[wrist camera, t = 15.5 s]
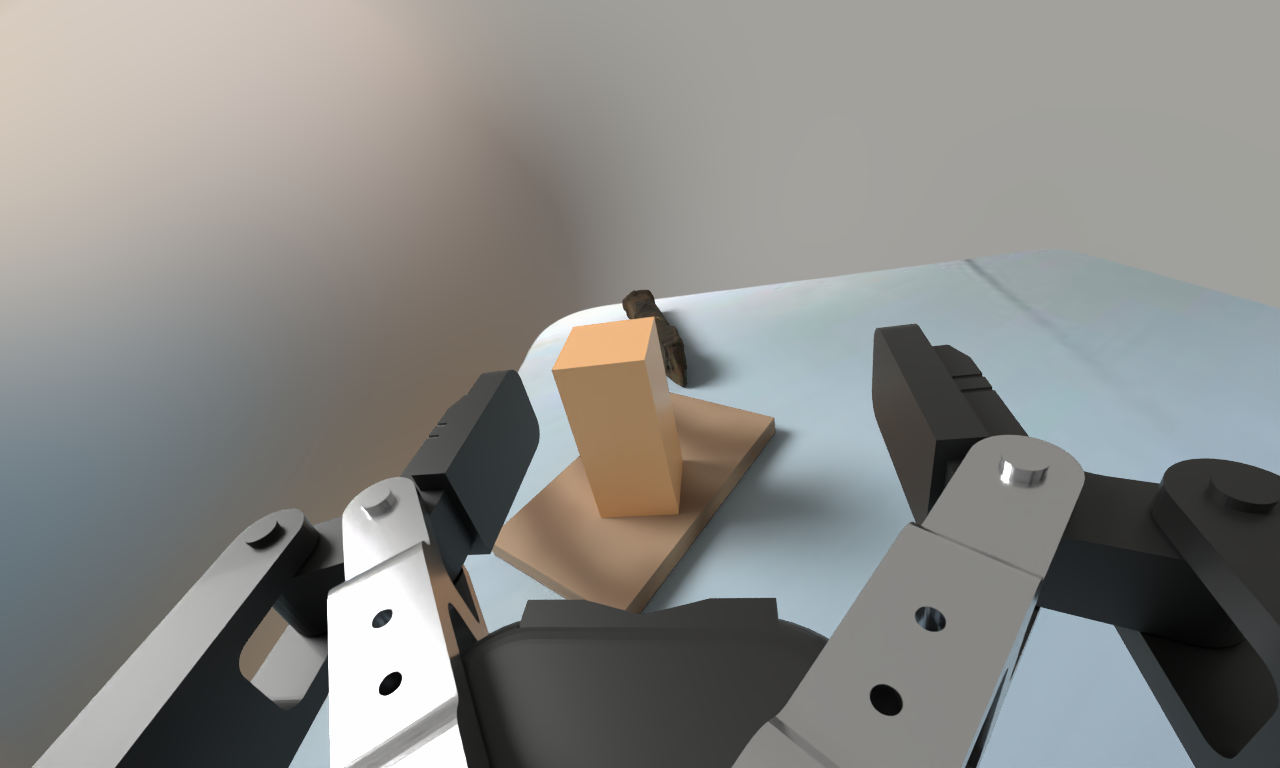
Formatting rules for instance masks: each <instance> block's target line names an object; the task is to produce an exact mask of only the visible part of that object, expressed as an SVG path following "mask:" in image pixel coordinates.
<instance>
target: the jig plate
mask: <svg viewBox="0 0 1280 768" xmlns="http://www.w3.org/2000/svg"><path fill="white" fill-rule="evenodd" d="M669 393H670V392H669ZM670 398H671V403H672V408H673V413H674V418H675V423H676V428H677V433H678V438H679V443H680V448H681V453H682V458H683V466H682V478H681V491H680V504H679V514H673V515H652V516H632V517H611V518H601V517H600V514H599V511H598V508H597V505H596V502H595V499H594V496H593V493H592V490H591V487H590V484H589V481H588V478H587V475H586V472H585V469H584V466H583V463H582V460H581V457H580V456H579V457H578V458H577V459H576V460H575V461H574V462H572V463H571V464H570V465H569V466H568V467H567V468H566V469H565V470H564V471H563V472H561V473H560V474H559V475H558V476H557V477H556V478H555V479H554V480H553V481H552V482H551V483H549V484H548V485H547V486H546V487H545V488H544V489H543V490H542V491H541V492H540V493H539V494H537V495H536V496H535V497H534V498H533V499H532V500H531V501H530V502H529V503H528V504H526V505H525V506H524V507H523V508H522V509H521V510H520V511H519V512H518V513H517V514H516V515H514V516H513V517H512V518H511V519H510V520H509V521H508V522H507V523H506V524H505V525H504V526H502V528H501V531H500V533H499V535H498V538H497V540H496V542H495V544H494V547H493V549H492V550H493V552H494V554H495V555H496V556H498V557H499V558H501V559H502V560H504V561H506V562H507V563H509V564H511V565H512V566H514V567H515V568H517V569H519V570H520V571H522V572H523V573H525V574H527V575H528V576H530V577H532V578H533V579H535V580H536V581H538V582H540V583H541V584H543V585H545V586H546V587H548V588H549V589H551V590H553V591H554V592H556V593H557V594H559V595H561V596H562V597H564V598H566V599H567V600H588V601H591V602H595V603H599V604H603V605H607V606H610V607H614V608H618V609H622V610H626V611H629V612H633V613H637V614H640V613H641V611H642V610H643V609H644V607H645V606H646V605H647V603H648V602H649V601H650V599H651V598H652V597H653V595H654V594H655V593H656V591H657V590H658V589H659V587H660V586H661V585H662V583H663V582H664V581H665V579H666V578H667V577H668V575H669V574H670V573H671V571H672V570H673V569H674V567H675V566H676V565H677V563H678V562H679V561H680V559H681V558H682V557H683V555H684V554H685V553H686V551H687V550H688V549H689V547H690V546H691V545H692V543H693V542H694V541H695V539H696V538H697V537H698V535H699V534H700V533H701V531H702V530H703V529H704V527H705V526H706V525H707V523H708V522H709V521H710V519H711V518H712V517H713V515H714V514H715V512H716V511H717V510H718V508H719V507H720V506H721V504H722V503H723V502H724V500H725V499H726V498H727V496H728V495H729V494H730V492H731V491H732V490H733V488H734V487H735V486H736V484H737V483H738V482H739V480H740V479H741V478H742V476H743V475H744V474H745V472H746V471H747V470H748V468H749V467H750V466H751V464H752V463H753V462H754V460H755V459H756V458H757V456H758V455H759V454H760V452H761V451H762V450H763V448H764V447H765V446H766V444H767V443H768V442H769V440H770V439H771V438H772V436H773V435H774V434H775V421H774V417H770V416H765V415H761V414H757V413H753V412H749V411H745V410H741V409H736V408H732V407H728V406H724V405H720V404H716V403H712V402H708V401H703V400H699V399H695V398H691V397H687V396H683V395H679V394H674V393H670Z"/></svg>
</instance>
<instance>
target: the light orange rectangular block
mask: <svg viewBox="0 0 1280 768" xmlns="http://www.w3.org/2000/svg"><path fill="white" fill-rule="evenodd" d="M552 372H553V375H554V378H555V381H556V384H557V387H558V390H559V393H560V396H561V399H562V402H563V405H564V408H565V412H566V415H567V418H568V421H569V424H570V427H571V430H572V433H573V436H574V439H575V442H576V445H577V448H578V451H579V454H580V457H581V460H582V463H583V466H584V469H585V472H586V475H587V478H588V481H589V484H590V487H591V490H592V493H593V496H594V499H595V502H596V505H597V508H598V511H599V514H600V517H601V518H611V517H632V516H652V515H673V514H679V504H680V491H681V478H682V466H683V458H682V453H681V448H680V443H679V438H678V433H677V428H676V423H675V418H674V413H673V408H672V403H671V398H670V393H669V388H668V383H667V378H666V373H665V368H664V363H663V358H662V353H661V348H660V343H659V338H658V333H657V328H656V323H655V318H654V317H647V318H639V319H631V320H624V321H616V322H608V323H600V324H592V325H585V326H577V327H573V328H572V330H571V332H570V334H569V336H568V339H567V341H566V343H565V345H564V347H563V349H562V351H561V353H560V355H559V357H558V359H557V361H556V363H555V365H554V367H553V369H552Z"/></svg>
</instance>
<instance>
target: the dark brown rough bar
mask: <svg viewBox="0 0 1280 768" xmlns="http://www.w3.org/2000/svg"><path fill="white" fill-rule="evenodd" d="M623 308H624V310H625V311H626V313H627V316H628V318H629V319H630V320H631V319H639V318H647V317H654V318H655V323H656V328H657V333H658V338H659V343H660V348H661V353H662V358H663V363H664V368H665V373H666V376H667V377H669V378H670V379H671V380H672V381H674V382H675V383H677V384H679V385H680V386H682V387H684V386H685V385H686V382H687V377H686V369H687V365H686V358H685V353H684V345H683V342H682V339H681V338H680V337H679V334H678V331H677V329H676V328H675V327H674V326H670V325H669V323H668V322H667V320H666V319H665V317H664V316H663V314H662V313H661V311H660V310H659V308H658V307H657V306H656V304H655V300H654V297H653V295H652V294H651V292H650V291H649V290H638V291H632V292H631V293H630V294H629V295H627V296H626V298H624V299H623ZM683 377H684V378H683Z"/></svg>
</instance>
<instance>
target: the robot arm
mask: <svg viewBox="0 0 1280 768" xmlns="http://www.w3.org/2000/svg"><path fill="white" fill-rule="evenodd" d="M872 400H873V408H874V413H875V417H876V420H877V423H878V426H879V428H880V431H881V433H882V436H883V439H884V441H885V444H886V446H887V449H888V452H889V454H890V457H891V459H892V462H893V465H894V467H895V470H896V472H897V475H898V478H899V480H900V483H901V485H902V488H903V491H904V493H905V496H906V498H907V501H908V504H909V506H910V509H911V511H912V514H913V517H914V519H915V522H916V523H914V522H910V523H908V524H907V525H906V526H905V527H904V528H903V530H902V531H901V532H900V534H899V535H898V537H897V538H896V540H895V541H894V543H893V544H892V546H891V547H890V549H889V550H888V552H887V553H886V555H885V556H884V558H883V559H882V561H881V562H880V564H879V565H878V567H877V569H876V570H875V572H874V573H873V575H872V576H871V578H870V579H869V581H868V582H867V584H866V585H865V587H864V588H863V590H862V591H861V593H860V594H859V596H858V597H857V599H856V600H855V602H854V603H853V605H852V606H851V608H850V609H849V611H848V612H847V614H846V615H845V617H844V618H843V620H842V621H841V623H840V624H839V626H838V627H837V629H836V630H835V632H834V633H833V635H832V636H831V638H830V639H828V638H827V637H825V636H823V635H821V634H819V633H817V632H815V631H813V630H811V629H808V628H806V627H803V626H800V625H798V624H795V623H792V622H789V621H785V620H781V619H778V611H777V603H776V598H710V599H706V600H702V601H698V602H694V603H690V604H686V605H682V606H677V607H673V608H669V609H665V610H661V611H657V612H653V613H649V614H637V613H633V612H629V611H626V610H622V609H618V608H614V607H610V606H607V605H603V604H599V603H595V602H591V601H588V600H528V601H527V604H526V607H525V610H524V613H523V616H522V619H521V621H518V622H515V623H512V624H510V625H507V626H505V627H502V628H500V629H498V630H496V631H494V632H492V633H490V634H489V633H488V630H487V627H486V624H485V621H484V618H483V615H482V612H481V609H480V606H479V603H478V600H477V597H476V594H475V591H474V588H473V585H472V582H471V579H470V576H469V573H468V571H467V570H466V568H465V566H464V565H463V564H464V562H465V560H466V557H467V555H479V554H490V553H491V551H492V549H493V547H494V544H495V542H496V540H497V538H498V535H499V533H500V531H501V528H502V526H503V524H504V522H505V519H506V517H507V515H508V513H509V510H510V508H511V506H512V503H513V501H514V499H515V497H516V494H517V492H518V490H519V488H520V485H521V483H522V481H523V478H524V476H525V474H526V472H527V469H528V467H529V465H530V463H531V460H532V458H533V456H534V453H535V451H536V449H537V447H538V443H539V436H540V433H539V424H538V421H537V418H536V416H535V413H534V411H533V408H532V406H531V403H530V401H529V398H528V395H527V393H526V390H525V388H524V385H523V383H522V380H521V378H520V376H519V374H518V373H517V372H516V371H514V370H506V371H497V372H489V373H483V374H481V375H480V377H479V378H478V379H477V381H476V382H475V384H474V385H473V387H472V388H471V390H470V391H469V392H468V394H467V395H465V396H464V397H462V398H461V399H460V400H459V401H457V402H456V403H455V404H454V405H452V406H451V407H450V408H449V409H448V410H447V411H446V413H445V414H444V416H443V417H442V418H441V420H440V421H439V422H438V426H437V427H435V428H434V429H433V431H432V432H431V434H430V435H429V439H426V441H425V442H424V444H423V445H422V446H421V448H420V449H419V450H418V452H417V453H416V455H415V456H414V457H413V459H412V460H411V462H410V463H409V464H408V466H407V467H406V469H405V470H404V471H403V473H402V474H401V476H400V477H396V478H390V479H386V480H383V481H381V482H378V483H376V484H374V485H372V486H370V487H369V488H367V489H366V490H364V491H363V492H361V493H360V494H359V495H358V496H356V497H355V498H354V499H353V501H351V502H350V504H349V505H348V506H347V508H346V510H345V511H344V514H343V516H341V517H338V518H335V519H332V520H328V521H325V522H322V523H318V524H315V525H312V524H311V523H310V521H309V520H308V519H307V518H306V516H305V515H304V514H303V513H302V512H301V511H300V510H298V509H284V510H280V511H277V512H275V513H272V514H269V515H267V516H265V517H263V518H262V519H260V520H258V521H256V522H255V523H254V524H252V525H250V526H249V527H248V528H247V529H245V530H244V531H243V532H242V533H241V534H240V535H239V536H238V537H237V538H236V539H235V540H234V541H233V542H232V543H231V544H230V545H229V547H228V548H227V549H226V550H225V551H224V552H223V553H222V554H221V555H220V557H219V558H218V559H217V560H216V561H215V562H214V563H213V564H212V566H211V567H210V568H209V569H208V570H207V571H206V572H205V573H204V575H203V576H202V577H201V578H200V579H199V580H198V581H197V582H196V584H195V585H194V586H193V587H192V588H191V589H190V591H188V593H187V594H186V595H185V596H184V597H183V598H182V599H181V600H180V602H179V603H178V604H177V605H176V606H175V607H174V608H173V609H172V611H171V612H170V613H169V614H168V615H167V616H166V617H165V618H164V620H163V621H162V622H161V623H160V624H159V625H158V626H157V627H156V629H155V630H154V631H153V632H152V633H151V634H150V635H149V636H148V638H147V639H146V640H145V641H144V642H143V643H142V644H141V646H140V647H139V648H138V649H137V650H136V651H135V652H134V653H133V654H132V656H131V657H130V658H129V659H128V660H127V661H126V662H125V663H124V665H123V666H122V667H121V668H120V669H119V670H118V671H117V673H115V675H114V676H113V677H112V678H111V679H110V680H109V681H108V683H107V684H106V685H105V686H104V687H103V688H102V689H101V691H99V693H98V694H97V695H96V696H95V697H94V698H93V699H92V700H91V702H90V703H89V704H88V705H87V706H86V707H85V708H84V710H83V711H82V712H81V713H80V714H79V715H78V716H77V717H76V718H75V720H74V721H73V722H72V723H71V724H70V725H69V726H68V728H67V729H66V730H65V731H64V732H63V733H62V734H61V735H60V736H59V738H58V739H57V740H56V741H55V742H54V743H53V744H52V746H51V747H50V748H49V749H48V750H47V751H46V752H45V753H44V754H43V756H42V757H41V758H40V759H39V760H38V761H37V762H36V763H35V765H34V766H33V767H32V768H288V767H289V765H290V763H291V762H292V760H293V758H294V756H295V754H296V752H297V751H298V749H299V747H300V745H301V743H302V741H303V739H304V738H305V736H306V734H307V732H308V730H309V728H310V726H311V725H312V723H313V721H314V719H315V717H316V715H317V714H318V712H319V710H320V708H321V706H322V704H323V702H324V701H325V699H326V697H327V695H328V693H329V698H330V753H331V768H978V767H979V765H980V762H981V760H982V757H983V755H984V752H985V750H986V747H987V745H988V742H989V739H990V737H991V734H992V732H993V729H994V726H995V724H996V721H997V718H998V715H999V713H1000V710H1001V707H1002V705H1003V702H1004V699H1005V697H1006V694H1007V692H1008V689H1009V687H1010V684H1011V682H1012V679H1013V677H1014V674H1015V672H1016V669H1017V667H1018V665H1019V662H1020V660H1021V657H1022V655H1023V652H1024V650H1025V647H1026V645H1027V642H1028V640H1029V637H1030V635H1031V633H1032V630H1033V628H1034V625H1035V623H1036V620H1037V618H1038V615H1039V613H1040V610H1041V608H1042V607H1043V608H1047V609H1051V610H1055V611H1059V612H1063V613H1067V614H1071V615H1075V616H1079V617H1083V618H1087V619H1091V620H1095V621H1099V622H1104V623H1108V624H1112V625H1114V626H1115V628H1116V630H1117V631H1118V633H1119V635H1120V637H1121V638H1122V640H1123V642H1124V644H1125V645H1126V647H1127V649H1128V651H1129V652H1130V654H1131V656H1132V658H1133V659H1134V661H1135V663H1136V665H1137V666H1138V668H1139V670H1140V672H1141V673H1142V675H1143V677H1144V678H1145V680H1146V682H1147V684H1148V685H1149V687H1150V689H1151V691H1152V692H1153V694H1154V696H1155V698H1156V699H1157V701H1158V703H1159V705H1160V706H1161V708H1162V710H1163V712H1164V713H1165V715H1166V717H1167V719H1168V720H1169V722H1170V724H1171V726H1172V727H1173V729H1174V731H1175V733H1176V734H1177V736H1178V738H1179V740H1180V741H1181V743H1182V745H1183V747H1184V748H1185V750H1186V752H1187V754H1188V755H1189V757H1190V759H1191V761H1192V762H1193V764H1194V766H1195V768H1280V476H1279V475H1276V474H1274V473H1272V472H1269V471H1267V470H1264V469H1261V468H1258V467H1255V466H1251V465H1247V464H1243V463H1239V462H1234V461H1228V460H1220V459H1191V460H1186V461H1181V462H1179V463H1176V464H1174V465H1172V466H1171V467H1169V468H1168V469H1167V471H1166V472H1165V474H1164V476H1163V478H1162V480H1161V482H1160V484H1158V483H1151V482H1144V481H1137V480H1130V479H1123V478H1116V477H1109V476H1103V475H1097V474H1092V473H1088V472H1085V471H1083V469H1082V467H1081V465H1080V464H1079V463H1078V461H1077V460H1076V459H1075V458H1074V457H1073V456H1072V455H1070V454H1069V453H1067V452H1066V451H1065V450H1063V449H1061V448H1059V447H1058V446H1056V445H1053V444H1051V443H1049V442H1046V441H1043V440H1040V439H1036V438H1032V437H1029V436H1028V435H1027V433H1026V432H1025V431H1024V429H1023V428H1022V427H1021V425H1020V424H1019V423H1018V421H1017V420H1016V419H1015V417H1014V416H1013V414H1012V413H1011V412H1010V410H1009V409H1008V408H1007V406H1006V405H1005V404H1004V402H1003V401H1002V400H1001V398H1000V397H999V396H998V394H997V393H996V391H995V390H992V386H991V385H990V383H989V382H988V381H987V379H986V378H985V377H983V376H982V373H981V371H980V370H979V368H978V367H977V366H976V364H975V363H974V362H973V360H972V359H971V358H970V357H969V356H967V355H965V354H964V353H962V352H960V351H958V350H957V349H955V348H953V347H951V346H950V345H941V346H931V344H930V342H929V341H928V339H927V338H926V336H925V335H924V333H923V332H922V330H921V329H920V327H919V326H918V325H917V324H909V325H900V326H892V327H883V328H877V329H876V330H875V334H874V348H873V377H872ZM271 607H273V608H274V609H275V610H276V611H277V612H278V613H279V614H280V615H281V616H282V617H283V618H284V619H285V620H286V621H287V622H288V623H289V626H288V627H287V629H286V630H285V632H284V633H283V635H282V636H281V638H280V639H279V641H278V642H277V643H276V645H275V646H274V648H273V649H272V651H271V652H270V654H269V655H268V657H267V658H266V660H265V661H264V663H263V664H262V666H261V667H260V669H259V670H258V672H257V673H256V675H255V676H254V678H253V679H252V681H251V682H249V681H248V680H247V679H246V678H245V677H243V675H242V674H241V672H240V669H239V657H240V654H241V651H242V649H243V647H244V645H245V644H246V642H247V641H248V639H249V638H250V637H251V635H252V634H253V632H254V631H255V629H256V628H257V627H258V625H259V624H260V623H261V621H262V620H263V618H264V617H265V616H266V614H267V613H268V612H269V610H270V609H271Z"/></svg>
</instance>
